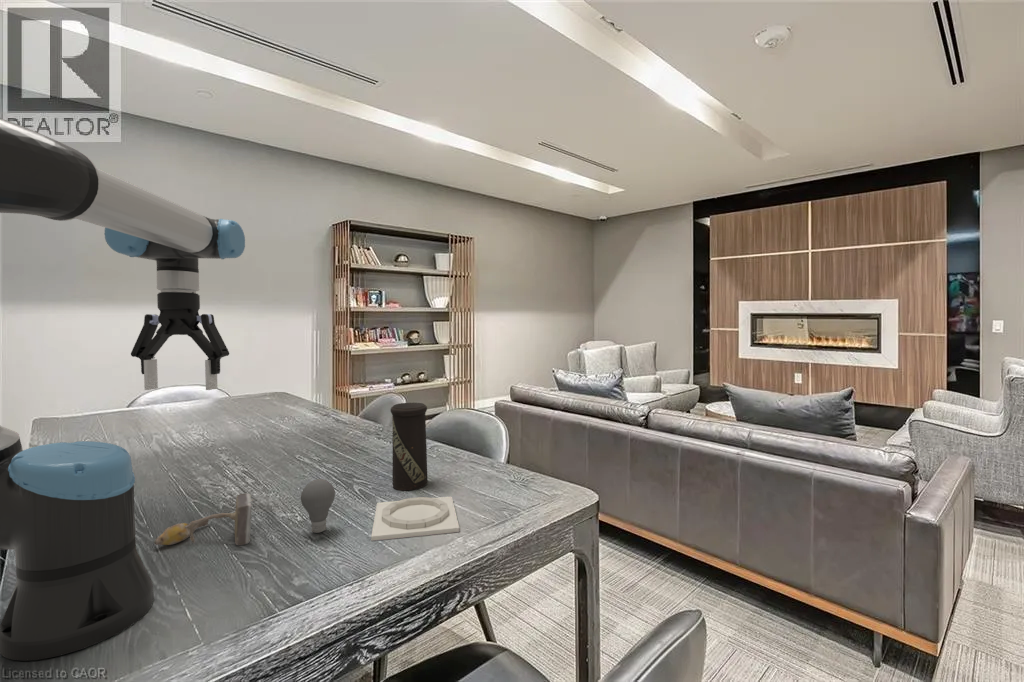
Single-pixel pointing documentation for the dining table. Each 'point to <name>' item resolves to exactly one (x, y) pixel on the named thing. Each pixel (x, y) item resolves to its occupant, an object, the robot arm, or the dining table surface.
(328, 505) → the light bulb
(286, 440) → the dining table surface
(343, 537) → the dining table surface
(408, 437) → the container
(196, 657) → the dining table surface
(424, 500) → the socket
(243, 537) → the decorative sculpture
